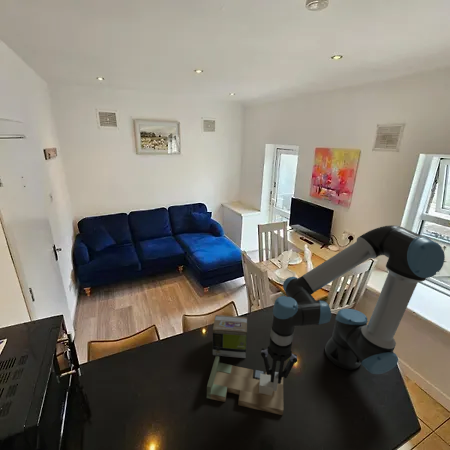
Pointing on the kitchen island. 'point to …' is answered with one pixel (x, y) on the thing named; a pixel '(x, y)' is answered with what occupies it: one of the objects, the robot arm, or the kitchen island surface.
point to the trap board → (242, 388)
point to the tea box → (230, 336)
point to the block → (258, 374)
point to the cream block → (265, 384)
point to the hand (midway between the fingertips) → (274, 387)
